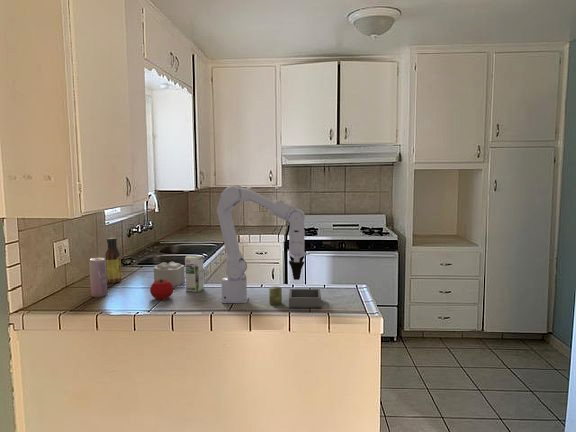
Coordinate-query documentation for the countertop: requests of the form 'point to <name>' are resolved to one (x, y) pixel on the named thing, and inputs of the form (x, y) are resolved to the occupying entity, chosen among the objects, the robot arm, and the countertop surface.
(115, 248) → the sauce bottle
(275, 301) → the green cylinder
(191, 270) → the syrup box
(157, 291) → the tomato
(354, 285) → the countertop surface
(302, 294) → the bin
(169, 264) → the egg container
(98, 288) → the beverage can
